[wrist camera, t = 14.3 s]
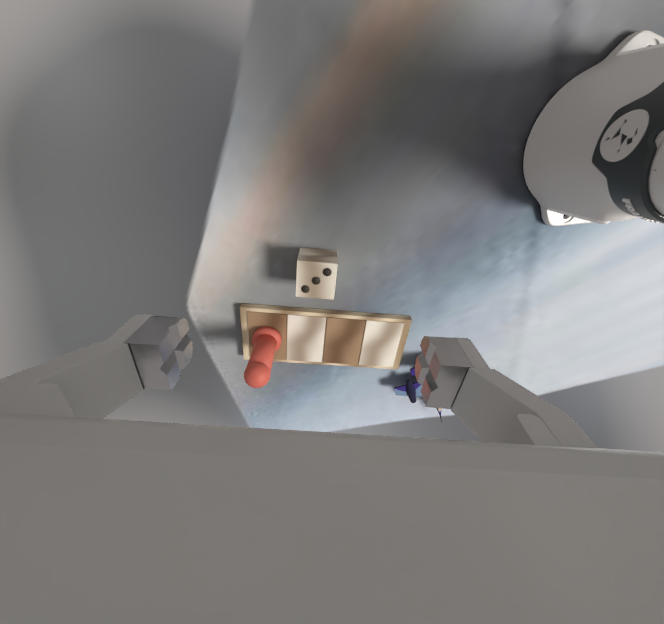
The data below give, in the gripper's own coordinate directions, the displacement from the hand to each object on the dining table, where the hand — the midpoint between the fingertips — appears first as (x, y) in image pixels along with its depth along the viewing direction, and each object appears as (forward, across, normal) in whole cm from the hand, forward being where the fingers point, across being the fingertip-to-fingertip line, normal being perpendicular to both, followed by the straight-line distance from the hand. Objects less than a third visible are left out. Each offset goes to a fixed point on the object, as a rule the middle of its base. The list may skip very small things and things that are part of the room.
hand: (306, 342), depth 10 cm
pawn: (+29, +8, +22) cm, 37 cm away
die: (+30, 0, +10) cm, 32 cm away
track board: (+30, -1, +22) cm, 37 cm away
